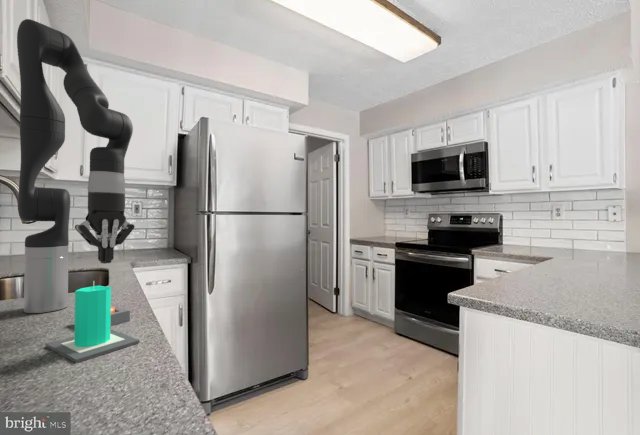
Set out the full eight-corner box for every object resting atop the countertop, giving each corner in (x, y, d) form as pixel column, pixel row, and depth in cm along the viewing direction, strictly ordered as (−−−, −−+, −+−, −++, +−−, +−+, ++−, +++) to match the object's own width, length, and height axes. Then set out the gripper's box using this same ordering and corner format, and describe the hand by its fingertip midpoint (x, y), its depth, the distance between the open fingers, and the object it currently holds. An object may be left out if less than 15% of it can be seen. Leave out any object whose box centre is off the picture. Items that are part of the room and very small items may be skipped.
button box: (77, 323, 77) (77, 313, 77) (112, 315, 84) (113, 305, 84) (93, 330, 73) (93, 318, 73) (129, 320, 80) (129, 310, 80)
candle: (91, 348, 61) (92, 284, 61) (66, 345, 62) (66, 282, 62) (118, 337, 67) (118, 278, 67) (94, 334, 68) (95, 277, 68)
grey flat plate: (46, 346, 63) (46, 343, 63) (107, 330, 73) (107, 327, 73) (76, 363, 56) (76, 358, 56) (139, 342, 66) (139, 339, 66)
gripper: (83, 189, 71) (82, 268, 71) (142, 193, 83) (141, 261, 83) (67, 189, 75) (66, 264, 75) (126, 193, 86) (125, 258, 87)
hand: (105, 262), depth 79 cm, fingers closed
